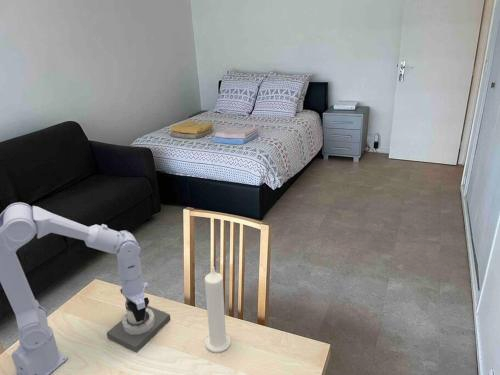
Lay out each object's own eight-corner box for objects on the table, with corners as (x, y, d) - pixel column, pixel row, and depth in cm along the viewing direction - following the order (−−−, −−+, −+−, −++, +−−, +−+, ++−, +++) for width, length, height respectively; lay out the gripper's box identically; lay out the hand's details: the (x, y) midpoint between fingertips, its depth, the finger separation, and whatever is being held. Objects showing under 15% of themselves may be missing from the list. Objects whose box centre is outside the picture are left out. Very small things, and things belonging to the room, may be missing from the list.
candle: (227, 354, 101) (222, 276, 91) (201, 351, 102) (194, 273, 92) (233, 335, 107) (230, 260, 97) (209, 331, 109) (203, 257, 99)
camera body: (136, 352, 102) (134, 341, 101) (107, 338, 107) (105, 327, 105) (170, 319, 113) (169, 309, 112) (142, 308, 118) (141, 297, 117)
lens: (147, 323, 108) (145, 303, 105) (129, 329, 106) (127, 308, 103) (143, 312, 112) (141, 292, 109) (126, 318, 110) (123, 298, 107)
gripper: (153, 284, 99) (159, 324, 104) (137, 257, 111) (143, 295, 116) (126, 293, 96) (134, 334, 101) (113, 265, 107) (120, 304, 112)
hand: (137, 314), depth 108 cm, fingers closed on lens, 5 cm apart
